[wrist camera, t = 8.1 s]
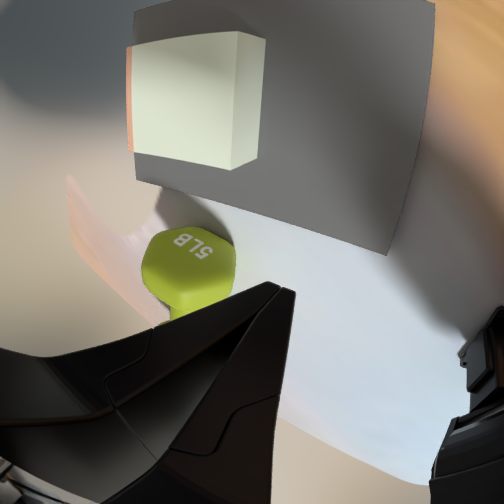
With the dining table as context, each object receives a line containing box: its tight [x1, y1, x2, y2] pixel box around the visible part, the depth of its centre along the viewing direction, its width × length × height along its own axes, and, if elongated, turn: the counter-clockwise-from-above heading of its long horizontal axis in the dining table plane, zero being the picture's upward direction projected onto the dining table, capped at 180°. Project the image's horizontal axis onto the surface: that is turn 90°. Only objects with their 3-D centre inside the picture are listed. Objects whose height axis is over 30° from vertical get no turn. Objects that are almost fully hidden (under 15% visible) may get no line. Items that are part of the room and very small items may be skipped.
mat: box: [132, 0, 435, 256], centre depth 17 cm, size 22×16×1 cm
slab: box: [126, 31, 266, 170], centre depth 17 cm, size 3×8×9 cm
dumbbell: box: [141, 227, 236, 325], centre depth 27 cm, size 16×8×7 cm, turn 167°
